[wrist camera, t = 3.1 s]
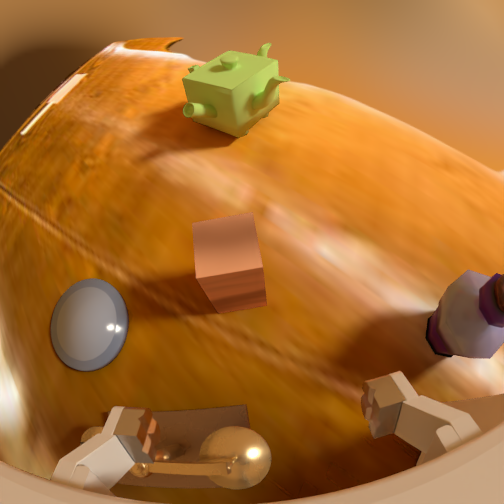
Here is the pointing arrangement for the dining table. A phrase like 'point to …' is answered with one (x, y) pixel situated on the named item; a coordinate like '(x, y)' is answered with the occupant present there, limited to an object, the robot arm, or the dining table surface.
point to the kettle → (233, 91)
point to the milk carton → (479, 412)
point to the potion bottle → (469, 317)
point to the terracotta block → (229, 262)
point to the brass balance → (201, 451)
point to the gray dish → (89, 325)
